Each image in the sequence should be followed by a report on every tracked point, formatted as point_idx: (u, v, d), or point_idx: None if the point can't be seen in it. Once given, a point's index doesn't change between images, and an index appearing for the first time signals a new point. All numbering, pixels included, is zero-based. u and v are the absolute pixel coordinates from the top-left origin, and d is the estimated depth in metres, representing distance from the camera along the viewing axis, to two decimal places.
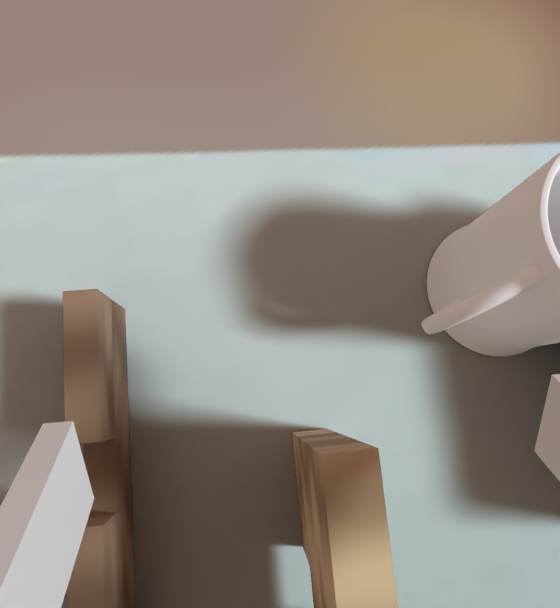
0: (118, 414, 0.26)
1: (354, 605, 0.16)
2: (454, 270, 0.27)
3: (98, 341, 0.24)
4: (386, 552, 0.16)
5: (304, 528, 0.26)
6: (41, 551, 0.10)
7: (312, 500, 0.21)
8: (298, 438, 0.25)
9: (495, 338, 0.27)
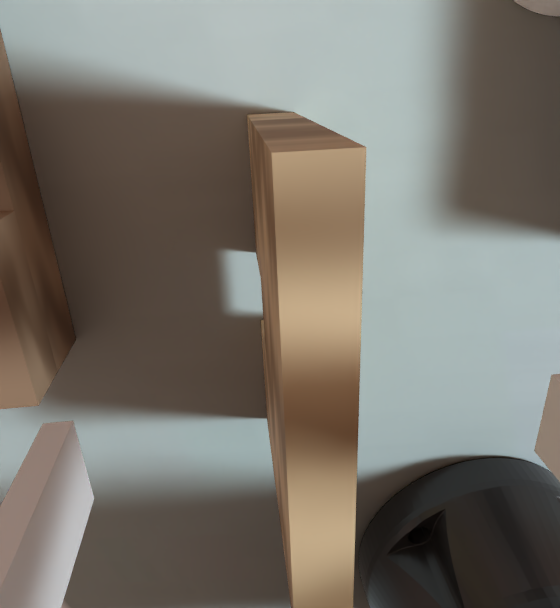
0: None
1: (304, 351, 0.12)
2: None
3: None
4: (355, 292, 0.12)
5: (257, 236, 0.21)
6: (41, 551, 0.10)
7: (263, 212, 0.15)
8: (251, 124, 0.18)
9: None
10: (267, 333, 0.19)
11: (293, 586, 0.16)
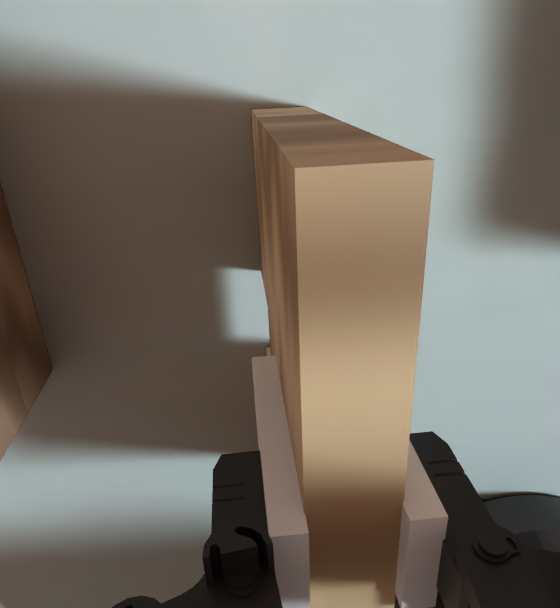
0: None
1: (334, 436, 0.09)
2: None
3: None
4: (407, 360, 0.08)
5: (263, 255, 0.18)
6: None
7: (274, 236, 0.12)
8: (258, 121, 0.14)
9: None
10: None
11: None
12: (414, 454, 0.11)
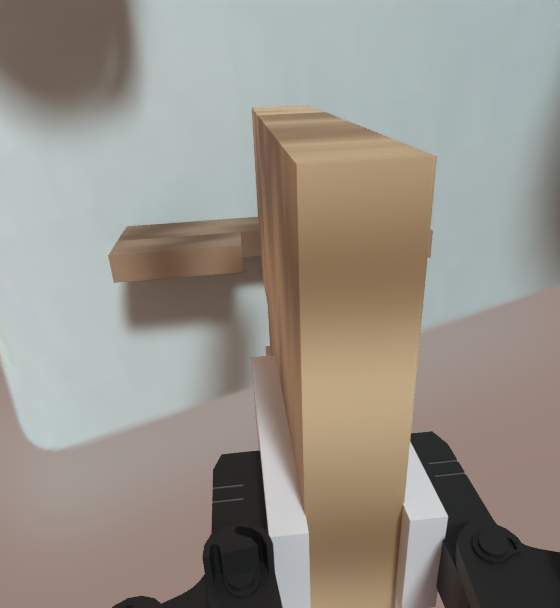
0: (221, 229, 0.30)
1: (335, 434, 0.09)
2: None
3: (156, 251, 0.27)
4: (409, 359, 0.08)
5: (263, 254, 0.18)
6: None
7: (274, 234, 0.12)
8: (259, 119, 0.14)
9: None
10: None
11: None
12: (414, 455, 0.11)
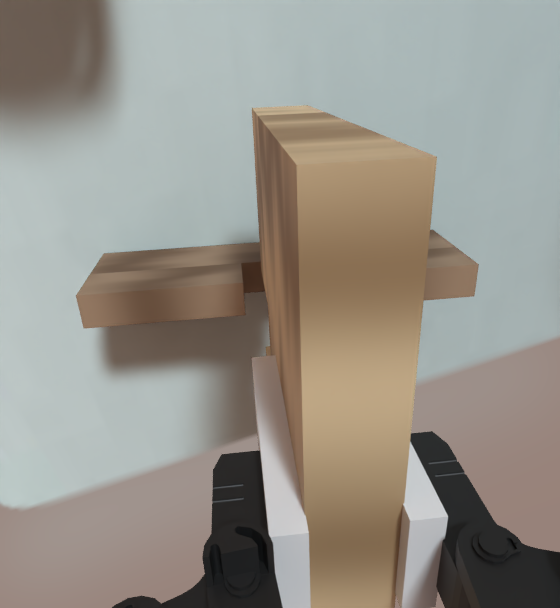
0: (217, 259, 0.25)
1: (334, 434, 0.09)
2: None
3: (136, 290, 0.22)
4: (409, 359, 0.08)
5: (263, 254, 0.18)
6: None
7: (274, 234, 0.12)
8: (259, 119, 0.14)
9: None
10: None
11: None
12: (414, 455, 0.11)
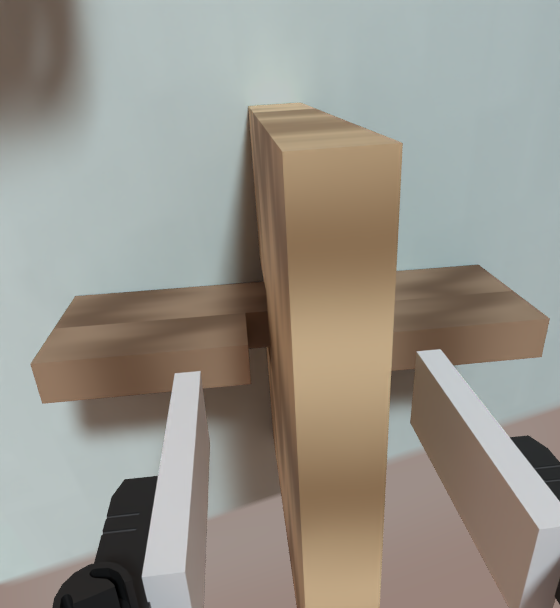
0: (215, 307, 0.20)
1: (323, 392, 0.10)
2: None
3: (110, 355, 0.17)
4: (385, 322, 0.10)
5: (261, 242, 0.19)
6: (199, 471, 0.12)
7: (269, 219, 0.13)
8: (254, 116, 0.15)
9: None
10: (274, 354, 0.17)
11: None
12: (522, 460, 0.11)
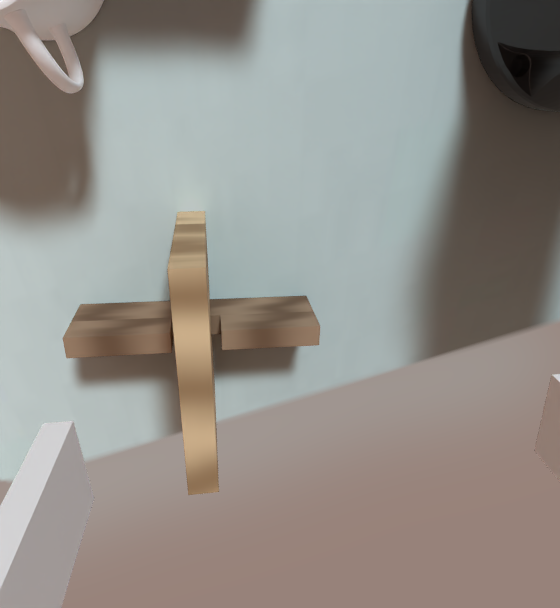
0: (157, 313, 0.38)
1: (185, 347, 0.28)
2: None
3: (101, 335, 0.34)
4: (206, 323, 0.28)
5: None
6: (41, 551, 0.10)
7: None
8: (175, 227, 0.33)
9: None
10: None
11: (186, 465, 0.32)
12: None
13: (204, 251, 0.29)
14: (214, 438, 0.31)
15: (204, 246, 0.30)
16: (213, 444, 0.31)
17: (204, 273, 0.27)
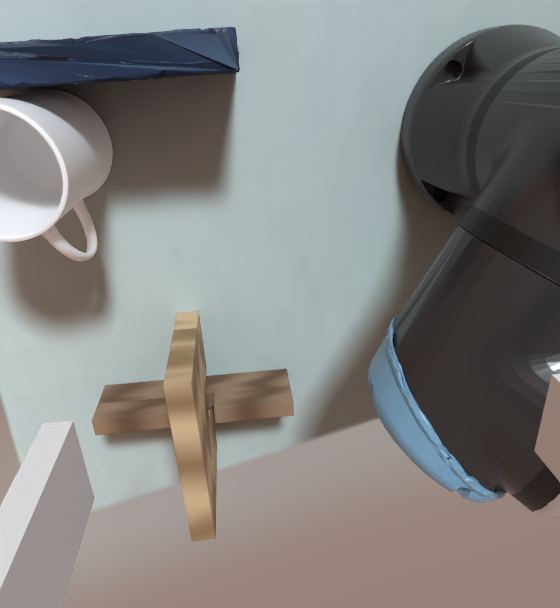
0: (164, 393, 0.47)
1: (180, 437, 0.38)
2: None
3: (121, 417, 0.44)
4: (194, 420, 0.37)
5: None
6: (41, 551, 0.10)
7: None
8: (173, 333, 0.43)
9: (96, 180, 0.37)
10: None
11: (188, 519, 0.41)
12: None
13: (192, 363, 0.38)
14: (208, 500, 0.41)
15: (193, 357, 0.39)
16: (208, 504, 0.41)
17: (190, 387, 0.36)
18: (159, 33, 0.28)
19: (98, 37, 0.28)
